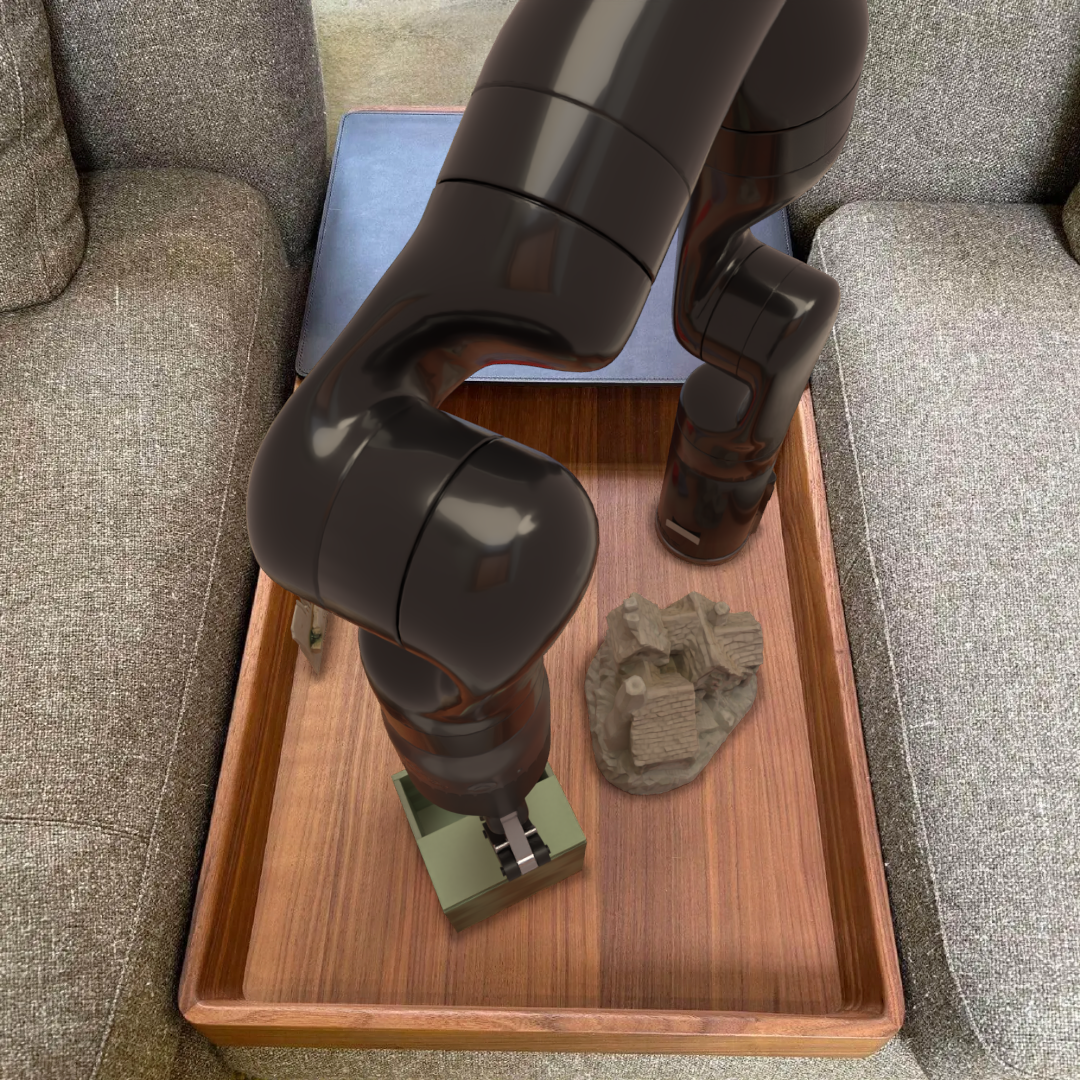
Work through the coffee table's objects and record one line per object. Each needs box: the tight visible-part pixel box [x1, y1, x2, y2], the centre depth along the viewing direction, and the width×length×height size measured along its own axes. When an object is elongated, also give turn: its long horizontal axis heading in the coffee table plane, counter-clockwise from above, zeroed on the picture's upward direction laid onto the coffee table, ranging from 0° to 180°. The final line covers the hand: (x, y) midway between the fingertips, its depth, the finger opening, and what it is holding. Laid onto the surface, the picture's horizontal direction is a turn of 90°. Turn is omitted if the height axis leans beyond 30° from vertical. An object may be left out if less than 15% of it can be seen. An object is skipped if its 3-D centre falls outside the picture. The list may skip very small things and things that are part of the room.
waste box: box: [390, 761, 588, 934], centre depth 69 cm, size 11×10×10 cm
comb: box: [290, 597, 329, 676], centre depth 80 cm, size 15×2×10 cm, turn 1°
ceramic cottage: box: [583, 590, 765, 796], centre depth 73 cm, size 16×16×15 cm
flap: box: [415, 774, 587, 912], centre depth 63 cm, size 11×5×1 cm, turn 115°
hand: (492, 803), depth 56 cm, fingers closed
